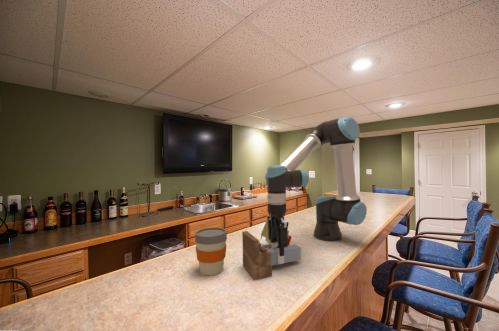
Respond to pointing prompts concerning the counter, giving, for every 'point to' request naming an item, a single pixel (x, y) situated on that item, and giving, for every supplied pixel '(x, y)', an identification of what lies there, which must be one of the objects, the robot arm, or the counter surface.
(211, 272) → the reusable coffee cup
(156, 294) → the counter surface
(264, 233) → the mechanical component
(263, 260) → the wooden bracket with knobs
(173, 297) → the counter surface
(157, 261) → the counter surface
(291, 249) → the rail
